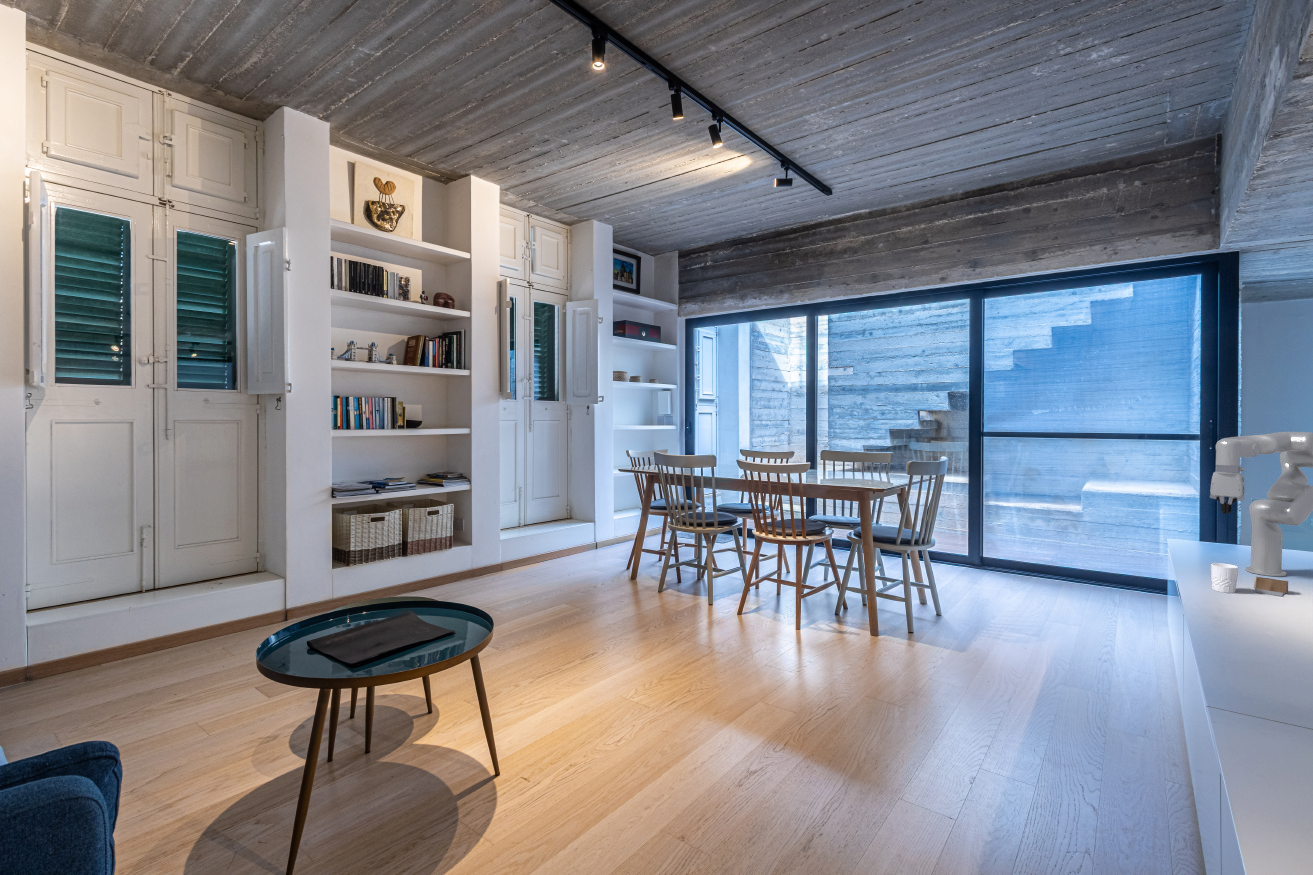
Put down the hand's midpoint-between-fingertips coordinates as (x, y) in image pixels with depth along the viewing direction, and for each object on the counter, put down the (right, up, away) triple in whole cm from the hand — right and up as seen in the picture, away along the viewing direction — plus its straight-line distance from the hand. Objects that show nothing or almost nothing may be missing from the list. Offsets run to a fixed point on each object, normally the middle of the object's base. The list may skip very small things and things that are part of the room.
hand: (1226, 513), depth 259 cm
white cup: (-17, -28, -17) cm, 37 cm away
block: (-2, -25, -15) cm, 29 cm away
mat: (+1, -28, -18) cm, 33 cm away
